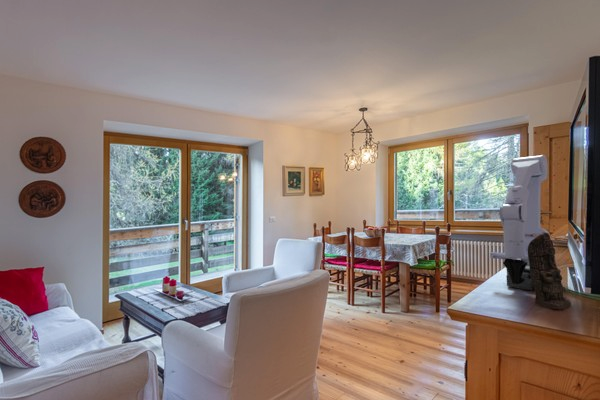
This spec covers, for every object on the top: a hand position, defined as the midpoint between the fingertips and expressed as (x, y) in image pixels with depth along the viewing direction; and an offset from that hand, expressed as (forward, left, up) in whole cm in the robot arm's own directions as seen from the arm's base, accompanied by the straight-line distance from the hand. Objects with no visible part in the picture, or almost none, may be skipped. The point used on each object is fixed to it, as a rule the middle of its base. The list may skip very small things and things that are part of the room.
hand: (516, 283), depth 101 cm
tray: (-7, 0, -2) cm, 7 cm away
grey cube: (-7, 0, -1) cm, 7 cm away
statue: (+9, +12, -2) cm, 15 cm away
